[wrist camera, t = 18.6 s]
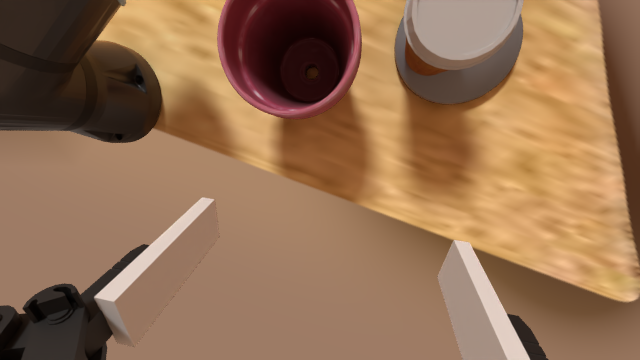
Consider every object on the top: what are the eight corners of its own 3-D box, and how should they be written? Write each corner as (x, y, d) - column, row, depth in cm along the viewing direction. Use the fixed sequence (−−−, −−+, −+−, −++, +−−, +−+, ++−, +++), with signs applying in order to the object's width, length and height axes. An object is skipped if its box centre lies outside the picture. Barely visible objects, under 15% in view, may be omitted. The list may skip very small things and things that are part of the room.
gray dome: (372, 69, 35) (373, 67, 34) (438, -43, 32) (440, -49, 31) (468, 125, 35) (471, 124, 34) (545, 16, 31) (551, 12, 30)
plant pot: (248, 96, 38) (194, 77, 26) (287, 1, 35) (248, -73, 23) (332, 140, 38) (318, 142, 25) (379, 46, 35) (391, -4, 22)
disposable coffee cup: (376, 57, 34) (382, 19, 22) (429, -8, 32) (466, -90, 20) (431, 104, 34) (465, 89, 22) (488, 41, 32) (559, -11, 20)
